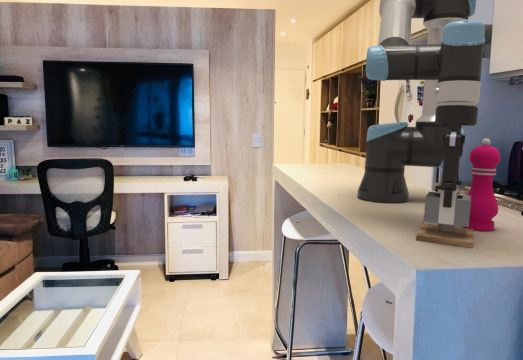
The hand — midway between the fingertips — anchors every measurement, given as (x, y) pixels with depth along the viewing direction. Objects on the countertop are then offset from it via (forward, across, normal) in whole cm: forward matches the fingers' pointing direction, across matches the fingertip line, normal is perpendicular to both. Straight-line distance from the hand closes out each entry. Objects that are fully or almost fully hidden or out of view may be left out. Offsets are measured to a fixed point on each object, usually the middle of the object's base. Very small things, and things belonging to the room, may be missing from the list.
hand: (447, 219), depth 85 cm
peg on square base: (+4, 0, 0) cm, 4 cm away
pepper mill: (+4, -13, +6) cm, 15 cm away
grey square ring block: (0, 0, 0) cm, 0 cm away
